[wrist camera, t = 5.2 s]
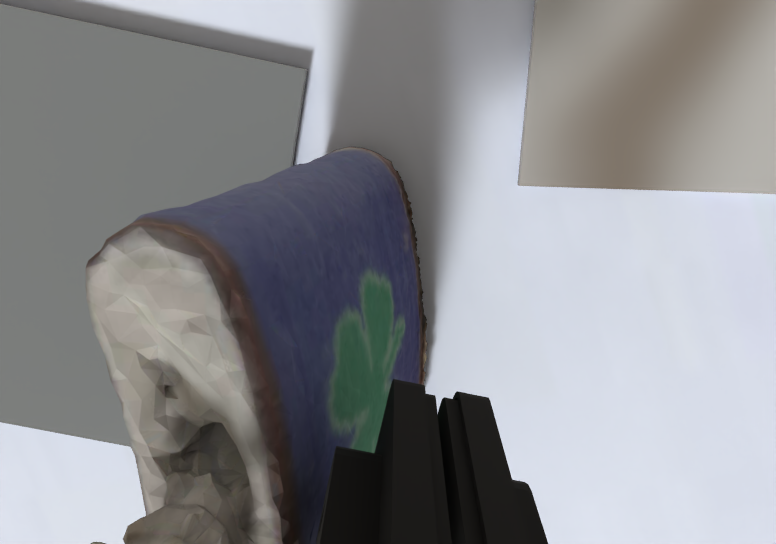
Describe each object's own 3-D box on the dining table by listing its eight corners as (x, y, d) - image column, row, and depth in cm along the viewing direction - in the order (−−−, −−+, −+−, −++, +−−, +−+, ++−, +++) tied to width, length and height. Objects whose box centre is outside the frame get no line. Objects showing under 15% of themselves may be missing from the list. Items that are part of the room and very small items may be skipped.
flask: (316, 144, 16) (-77, 263, 6) (423, 144, 15) (170, 278, 5) (337, 443, 19) (92, 848, 9) (429, 455, 18) (269, 912, 8)
